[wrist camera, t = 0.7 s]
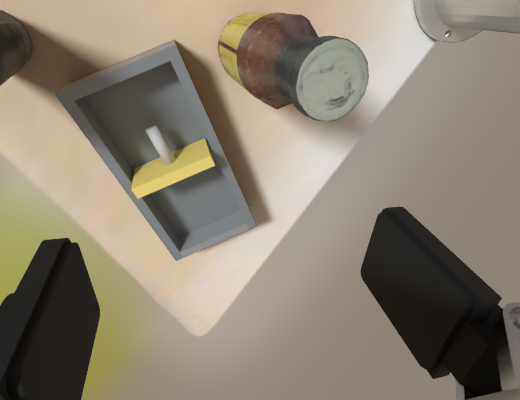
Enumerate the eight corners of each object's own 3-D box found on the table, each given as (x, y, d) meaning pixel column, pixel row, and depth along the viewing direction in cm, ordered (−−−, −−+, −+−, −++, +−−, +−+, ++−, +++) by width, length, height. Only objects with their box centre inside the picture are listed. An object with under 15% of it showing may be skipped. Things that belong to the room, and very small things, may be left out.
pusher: (189, 104, 32) (192, 118, 28) (209, 147, 35) (215, 165, 31) (113, 136, 32) (107, 155, 28) (140, 176, 35) (137, 198, 31)
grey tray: (174, 39, 30) (175, 44, 27) (249, 208, 43) (256, 225, 40) (67, 84, 30) (55, 94, 26) (175, 240, 42) (176, 260, 39)
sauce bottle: (266, 85, 35) (356, 161, 18) (210, 72, 32) (258, 144, 16) (283, 19, 32) (410, 40, 15) (223, -1, 29) (297, 0, 13)
